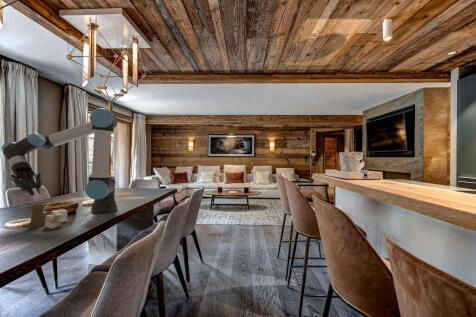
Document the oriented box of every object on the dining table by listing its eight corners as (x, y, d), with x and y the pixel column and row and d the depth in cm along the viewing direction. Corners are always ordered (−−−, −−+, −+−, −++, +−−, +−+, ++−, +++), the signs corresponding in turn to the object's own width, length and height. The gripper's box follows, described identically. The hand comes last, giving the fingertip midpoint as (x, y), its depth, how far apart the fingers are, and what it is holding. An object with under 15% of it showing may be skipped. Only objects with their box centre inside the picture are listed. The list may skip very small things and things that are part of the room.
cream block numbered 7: (61, 220, 128) (61, 209, 128) (67, 221, 126) (67, 209, 126) (51, 222, 123) (51, 210, 123) (57, 223, 121) (57, 211, 121)
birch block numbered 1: (56, 224, 119) (56, 212, 119) (62, 226, 117) (62, 214, 117) (45, 227, 115) (45, 215, 115) (51, 228, 113) (51, 216, 113)
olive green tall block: (45, 225, 117) (46, 204, 117) (29, 228, 112) (30, 206, 112) (44, 223, 121) (44, 202, 121) (29, 225, 117) (29, 204, 117)
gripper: (32, 170, 130) (49, 201, 124) (1, 171, 118) (18, 206, 112) (37, 161, 128) (55, 192, 122) (7, 161, 116) (25, 196, 110)
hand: (38, 199), depth 117 cm, fingers closed
